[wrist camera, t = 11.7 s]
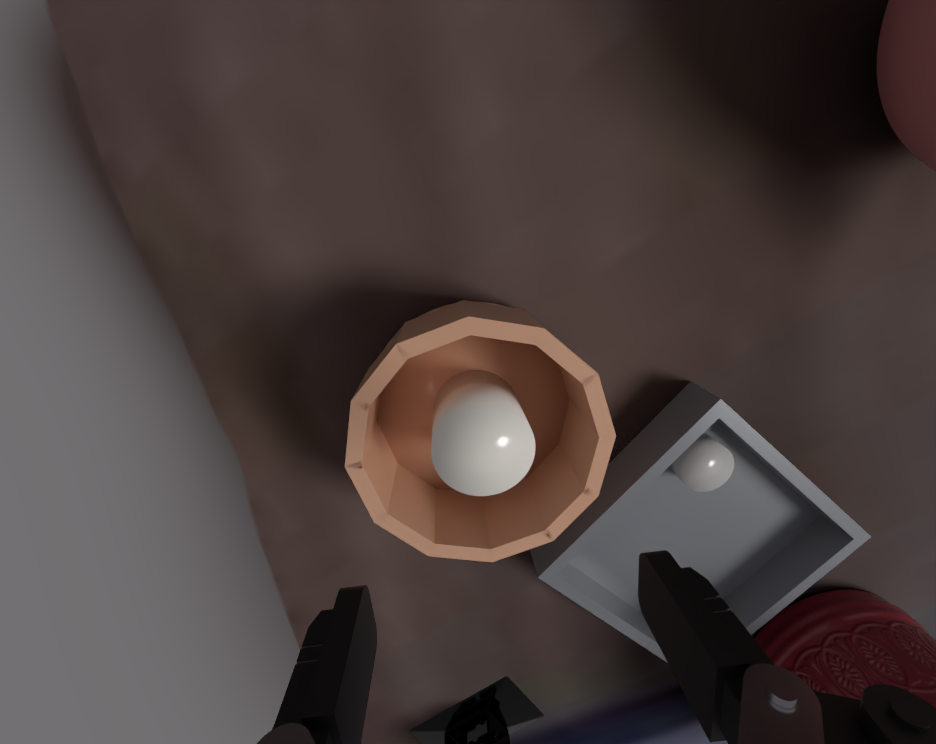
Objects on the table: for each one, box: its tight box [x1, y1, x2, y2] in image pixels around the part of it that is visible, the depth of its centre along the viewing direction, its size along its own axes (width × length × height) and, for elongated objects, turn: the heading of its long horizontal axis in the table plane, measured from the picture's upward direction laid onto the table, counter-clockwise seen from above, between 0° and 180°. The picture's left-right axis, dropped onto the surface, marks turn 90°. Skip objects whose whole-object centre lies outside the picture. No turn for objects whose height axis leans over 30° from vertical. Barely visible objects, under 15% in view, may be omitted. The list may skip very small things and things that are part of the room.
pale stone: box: [431, 370, 535, 496], centre depth 23 cm, size 5×5×5 cm
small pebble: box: [669, 432, 734, 492], centre depth 26 cm, size 3×3×2 cm
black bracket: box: [409, 677, 544, 744], centre depth 33 cm, size 12×7×5 cm, turn 124°
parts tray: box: [530, 382, 871, 663], centre depth 28 cm, size 15×15×3 cm
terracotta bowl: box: [345, 300, 616, 562], centre depth 23 cm, size 13×13×6 cm
